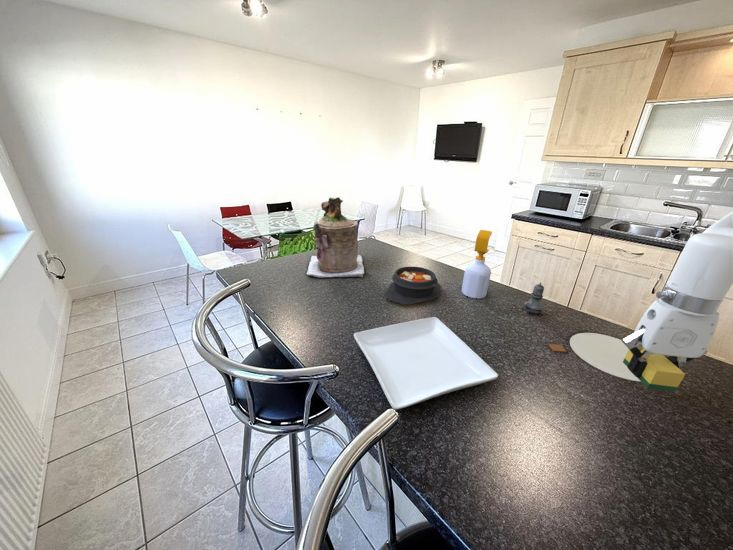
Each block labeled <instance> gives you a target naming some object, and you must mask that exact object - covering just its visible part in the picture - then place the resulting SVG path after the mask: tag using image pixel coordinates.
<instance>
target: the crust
mask: <svg viewBox="0 0 733 550" xmlns="http://www.w3.org/2000/svg"><path fill="white" fill-rule="evenodd" d="M547 345H548V347H549V348H550V349H551V351H552V352H554V353H567V352H568V351H567V350H566V348H565V347H564V346H563V345H562V344H557V343H548V344H547Z"/></svg>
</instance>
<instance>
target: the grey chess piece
mask: <svg viewBox="0 0 733 550" xmlns="http://www.w3.org/2000/svg"><path fill="white" fill-rule="evenodd" d="M544 290H545V287H544V286H543V284H542V282H539V283H537V284H535V285H534V286H533V290H532V292H531V293H530V295H531V296H530V299H529V300H526V301H524V303H523V304H524V310H522V314H523V315H539V314H540V313H541V312H542V311H543V310H544V308H545V306H544V305H543V304H542V302H541V301H542V298H544V295H543V293H544Z"/></svg>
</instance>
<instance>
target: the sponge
mask: <svg viewBox="0 0 733 550" xmlns="http://www.w3.org/2000/svg"><path fill="white" fill-rule="evenodd" d="M644 351H645V349H644V348H643V349H642V350H641V353H643V352H644ZM632 356H633V354H632V353H631V351H630V350H628V352H627V354H626V356H625V358H624V360H623V363H624V364H625V365H626V366H627V367H628V364H629V362H630V360H631V358H632ZM666 357H667V356H666V355H660V354H652V355H651V356H650V357H649V358H648V359H647V360H646V362H647V365H646V367H645V369H644V371H643V373H642V375H641V377H637V378H638V379H639V380H640V381H641V383H642V384H643V386H645V388H646V389H650V390H656V391H657V390H658V391H666V392H674V393H675V392H676V391H677V388H678V387H679V386H680V384H681V383H682V381H683V380H684V377H685V376H686V373H685V372H684V371H682V370H681V368H680V367H679V368H678V367H677V366H675V365H674V364H673V363H672V362H671V361H670V360H668V359H667V358H666ZM640 381H639V382H640Z"/></svg>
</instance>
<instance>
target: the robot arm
mask: <svg viewBox="0 0 733 550" xmlns="http://www.w3.org/2000/svg"><path fill="white" fill-rule="evenodd" d="M732 286H733V210H732V211H731V212H729V213H728V214H726V215H725V216H723V217H722V218H719V220H717V221H716V222H714V223H713V224H711V225H710V226H709V227H707V228H706V229H705V230H703V232H699V233H696V234H693V235H691V236H690V237H689V238H688V239H687V241H686V243H685V245H684V247H683V249H682V251H681V253H680V255H679V257H678V259H677V261H676V263H675V265H674V267H673V269H672V272H671V273H670V275H669V278H668V280H667V281H666V284H665V285H664V288H663V289H662V291H660V290H659V291H657V292H656V294H655V296H656V299H655V300H654V301H653V302H652V303H651V304H650V306H649V307H648V308H647V309H646V311H645V312H644V313H643V315H642V317H641V318H640V319H639V322H638V323H637V325H636V327H635V329H634V331H633V333H631V334H630V335H627V336H626V337H624V338H622V339H621V340H622V342H623V343H624V344H625V345H626V346H627V347H628V348H629V350H630V351H631V353H632V354H633V356H632V358H631V360H630V362H629V364H628V369H629V370H630V371H631V372H632V373H633V375H634V376H635V377H641V375H642V373H643V371H644V369H645V367H646V365H647V362H646V360H647V359H648V358H649V357H650V356H651V355H652V354H660V355H664V356H665V357H666V358H667V359H668V360H670V361H671V362H672V363H673V364H674V365H675V366H677V367H678V368H679V369H680V367H685V366H686V365H687V362H688V363H689V362H690V361H693V360H695V359H697V358H701V357H702V356H704V355H707V354H708V350H707V348H708V347H709V345H710V343H711V341H712V339H713V337H714V334H715V333H716V330H717V326H718V323H719V319H720V313H719V312H718V310H719V308H720V306H721V304H722V302H723V301H724V299H725V297H726V295H727V294H728V292H729V290H730V289H731V288H732ZM643 348H644V349H645V351H644V352H643V353H641V350H642V349H643Z"/></svg>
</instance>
